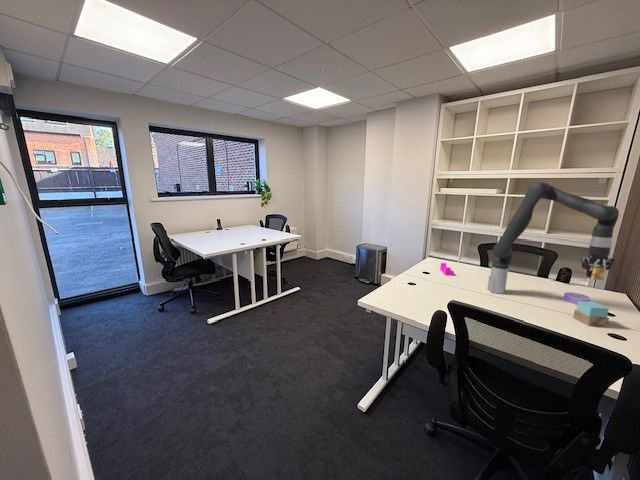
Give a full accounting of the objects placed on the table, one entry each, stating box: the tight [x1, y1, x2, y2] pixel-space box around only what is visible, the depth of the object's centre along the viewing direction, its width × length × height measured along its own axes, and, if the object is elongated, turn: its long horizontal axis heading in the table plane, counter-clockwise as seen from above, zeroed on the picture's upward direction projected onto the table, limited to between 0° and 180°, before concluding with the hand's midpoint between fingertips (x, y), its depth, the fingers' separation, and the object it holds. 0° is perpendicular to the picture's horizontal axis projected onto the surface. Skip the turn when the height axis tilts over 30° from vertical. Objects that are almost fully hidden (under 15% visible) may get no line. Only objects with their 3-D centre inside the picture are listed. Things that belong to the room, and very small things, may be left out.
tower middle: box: [576, 301, 609, 318], centre depth 139 cm, size 8×8×5 cm
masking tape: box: [563, 291, 591, 305], centre depth 165 cm, size 12×12×4 cm
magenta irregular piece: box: [439, 262, 455, 277], centre depth 216 cm, size 15×6×8 cm, turn 170°
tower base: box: [572, 309, 610, 328], centre depth 139 cm, size 9×9×5 cm
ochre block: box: [584, 265, 607, 281], centre depth 136 cm, size 5×5×6 cm
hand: (594, 277), depth 137 cm, fingers closed on ochre block, 5 cm apart
